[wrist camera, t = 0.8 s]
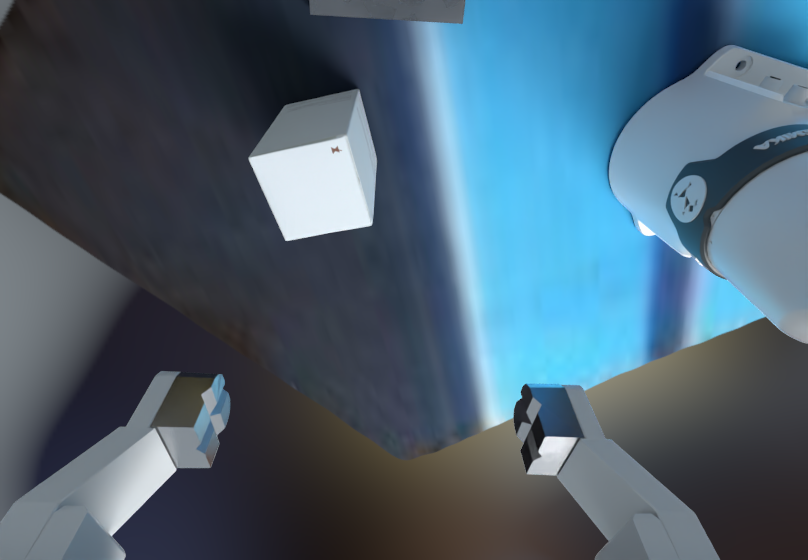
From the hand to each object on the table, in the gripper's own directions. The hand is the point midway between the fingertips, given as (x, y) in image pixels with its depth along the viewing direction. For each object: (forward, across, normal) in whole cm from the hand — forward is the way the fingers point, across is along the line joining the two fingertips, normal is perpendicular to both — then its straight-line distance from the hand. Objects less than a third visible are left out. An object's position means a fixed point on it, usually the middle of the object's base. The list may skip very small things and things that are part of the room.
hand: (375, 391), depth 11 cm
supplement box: (+33, +5, +4) cm, 34 cm away
